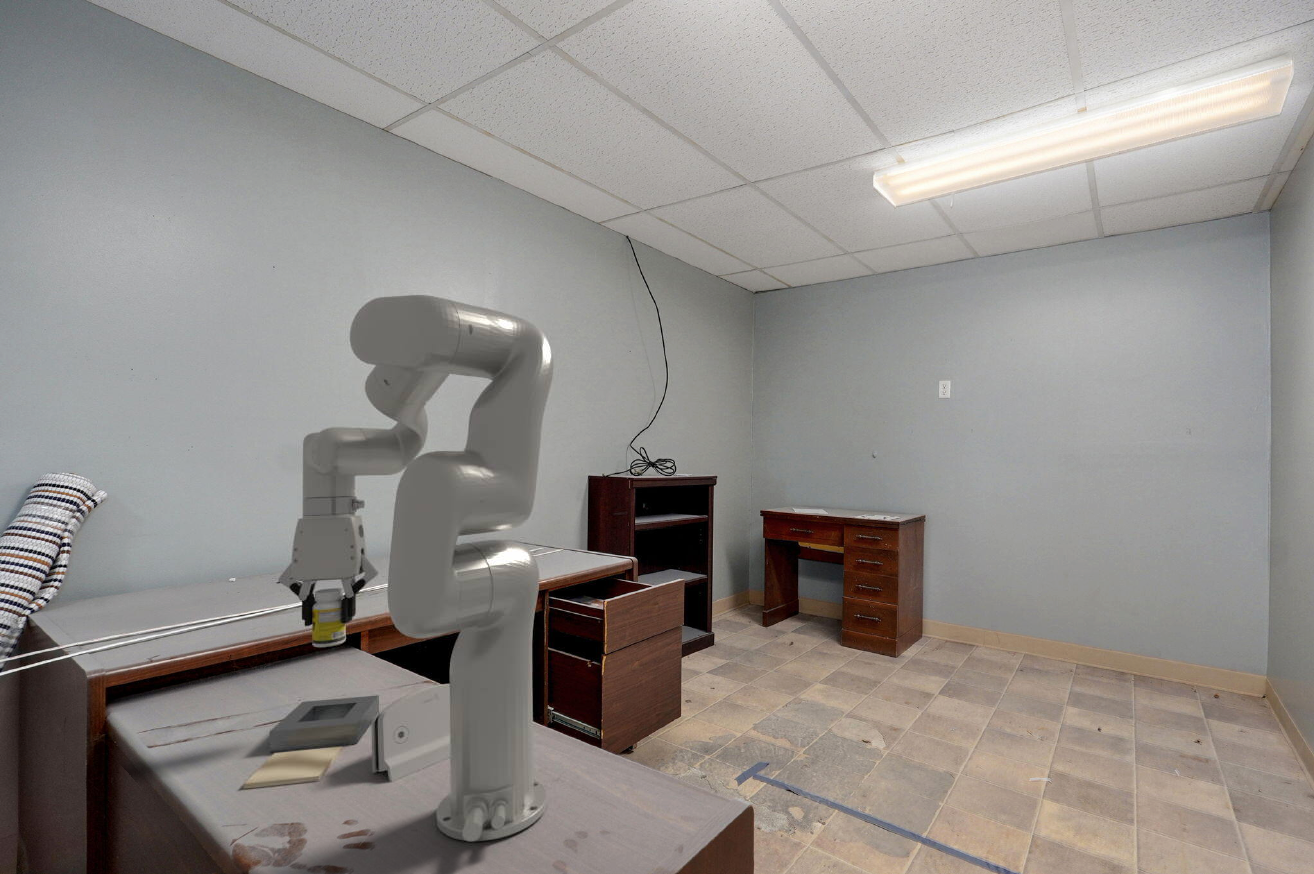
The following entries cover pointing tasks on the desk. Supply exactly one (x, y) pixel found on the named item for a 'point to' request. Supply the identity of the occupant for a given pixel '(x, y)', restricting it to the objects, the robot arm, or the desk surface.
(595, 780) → the desk surface
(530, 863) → the desk surface
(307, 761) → the pad
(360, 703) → the socket block
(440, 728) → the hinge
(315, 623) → the supplement bottle
